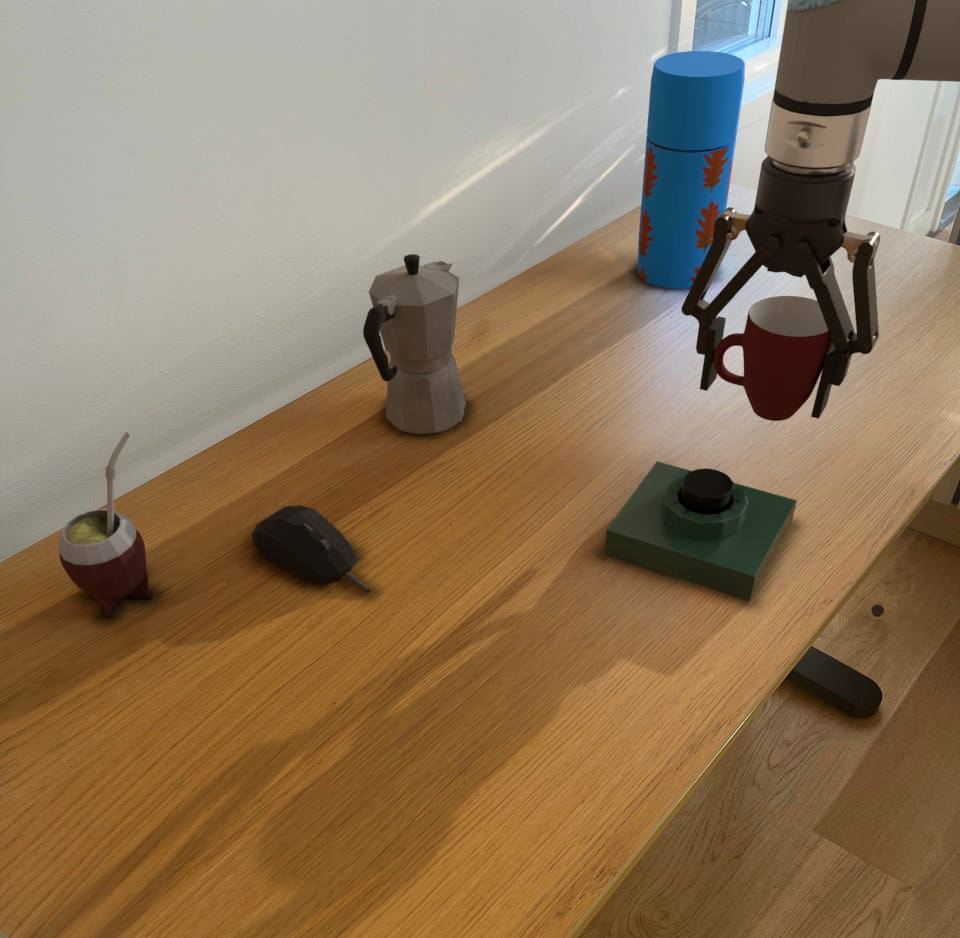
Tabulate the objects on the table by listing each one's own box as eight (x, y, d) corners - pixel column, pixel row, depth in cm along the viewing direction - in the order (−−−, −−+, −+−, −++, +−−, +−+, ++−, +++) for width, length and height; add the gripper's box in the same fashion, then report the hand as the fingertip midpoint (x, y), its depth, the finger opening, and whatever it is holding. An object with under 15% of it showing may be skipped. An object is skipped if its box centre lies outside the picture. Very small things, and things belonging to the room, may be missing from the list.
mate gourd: (69, 618, 85) (2, 483, 74) (105, 561, 91) (47, 427, 80) (147, 624, 84) (90, 488, 73) (179, 566, 90) (130, 431, 79)
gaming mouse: (343, 610, 84) (336, 577, 82) (241, 543, 92) (231, 510, 89) (393, 574, 88) (388, 541, 85) (290, 512, 95) (283, 479, 92)
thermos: (622, 263, 131) (636, 58, 113) (691, 248, 133) (715, 45, 115) (660, 296, 124) (681, 82, 106) (732, 280, 126) (764, 68, 108)
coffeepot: (422, 375, 112) (407, 222, 99) (491, 394, 109) (485, 237, 96) (347, 442, 103) (320, 282, 90) (419, 464, 100) (402, 302, 87)
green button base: (791, 525, 90) (801, 482, 87) (749, 602, 83) (759, 559, 79) (654, 485, 95) (658, 443, 92) (604, 554, 88) (607, 512, 85)
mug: (705, 428, 92) (719, 333, 85) (707, 385, 98) (721, 292, 90) (817, 436, 90) (841, 339, 83) (813, 391, 96) (835, 297, 89)
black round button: (736, 494, 86) (739, 476, 85) (719, 521, 84) (722, 503, 82) (690, 481, 88) (693, 463, 87) (673, 507, 85) (675, 489, 84)
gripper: (660, 153, 79) (638, 387, 95) (948, 197, 71) (871, 446, 86) (693, 125, 84) (667, 353, 99) (967, 164, 75) (891, 406, 91)
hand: (762, 397), depth 93 cm, fingers closed on mug, 10 cm apart
